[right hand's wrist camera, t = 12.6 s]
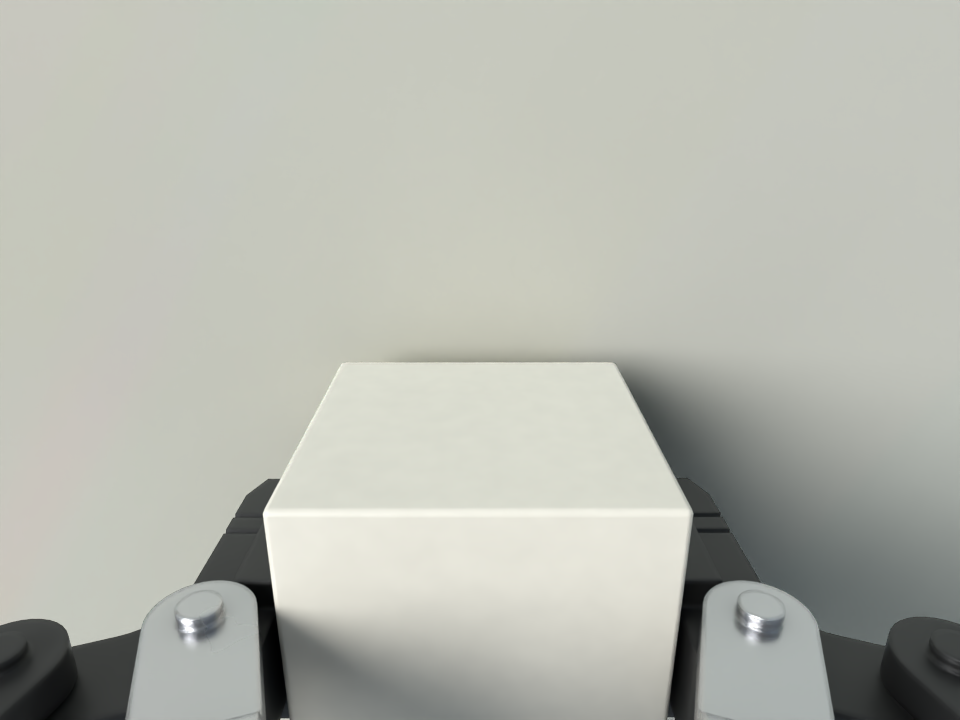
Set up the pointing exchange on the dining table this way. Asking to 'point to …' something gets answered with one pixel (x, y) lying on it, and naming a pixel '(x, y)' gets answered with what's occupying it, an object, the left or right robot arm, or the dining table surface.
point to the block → (478, 547)
